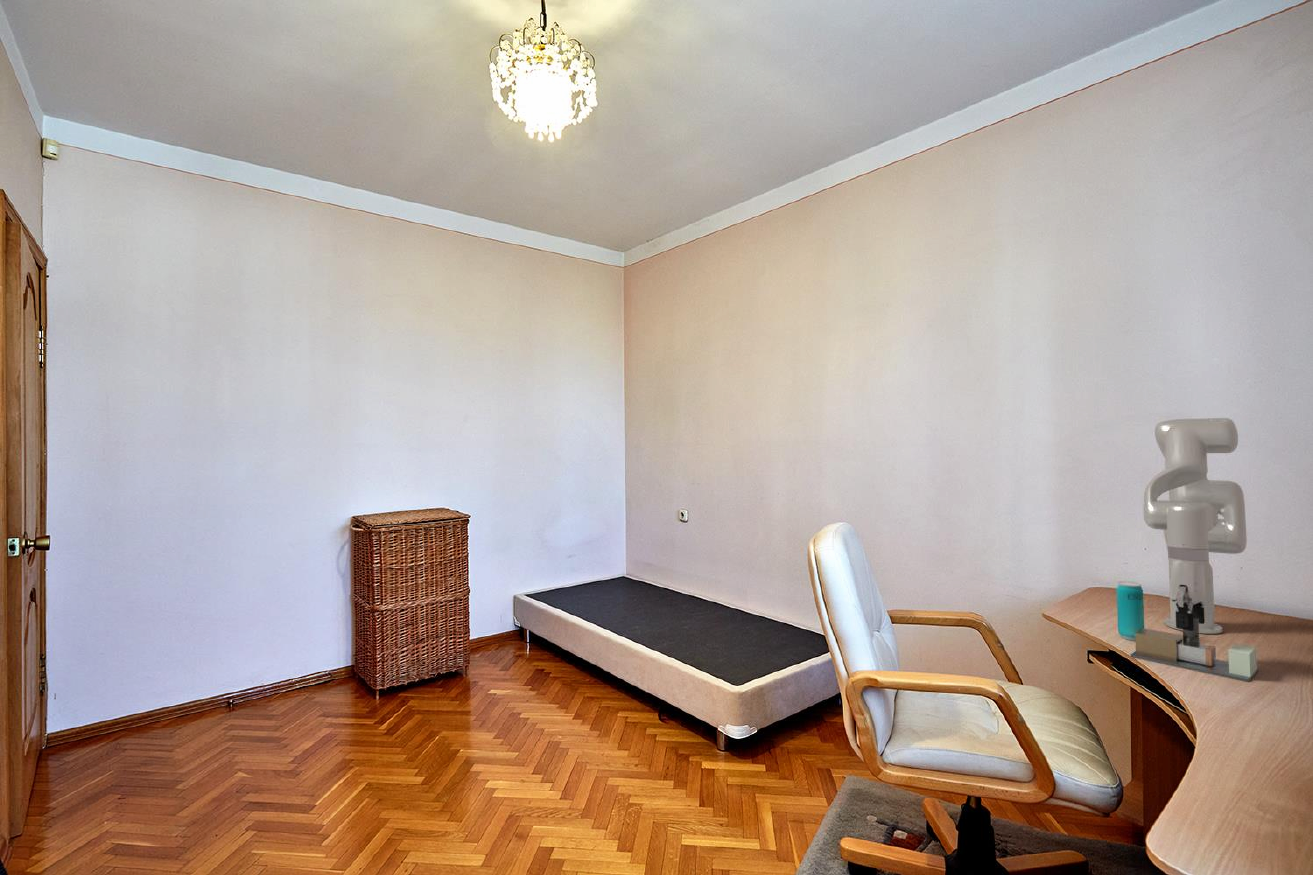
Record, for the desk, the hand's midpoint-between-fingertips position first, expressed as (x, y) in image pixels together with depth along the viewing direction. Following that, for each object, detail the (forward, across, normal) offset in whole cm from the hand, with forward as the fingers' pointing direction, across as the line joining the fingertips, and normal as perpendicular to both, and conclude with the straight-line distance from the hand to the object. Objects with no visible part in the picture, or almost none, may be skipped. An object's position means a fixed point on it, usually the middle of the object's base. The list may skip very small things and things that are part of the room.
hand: (1190, 625), depth 147 cm
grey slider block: (+9, -1, -3) cm, 10 cm away
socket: (+9, -1, +9) cm, 13 cm away
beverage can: (+9, -13, -15) cm, 22 cm away
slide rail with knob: (+9, -1, 0) cm, 9 cm away
